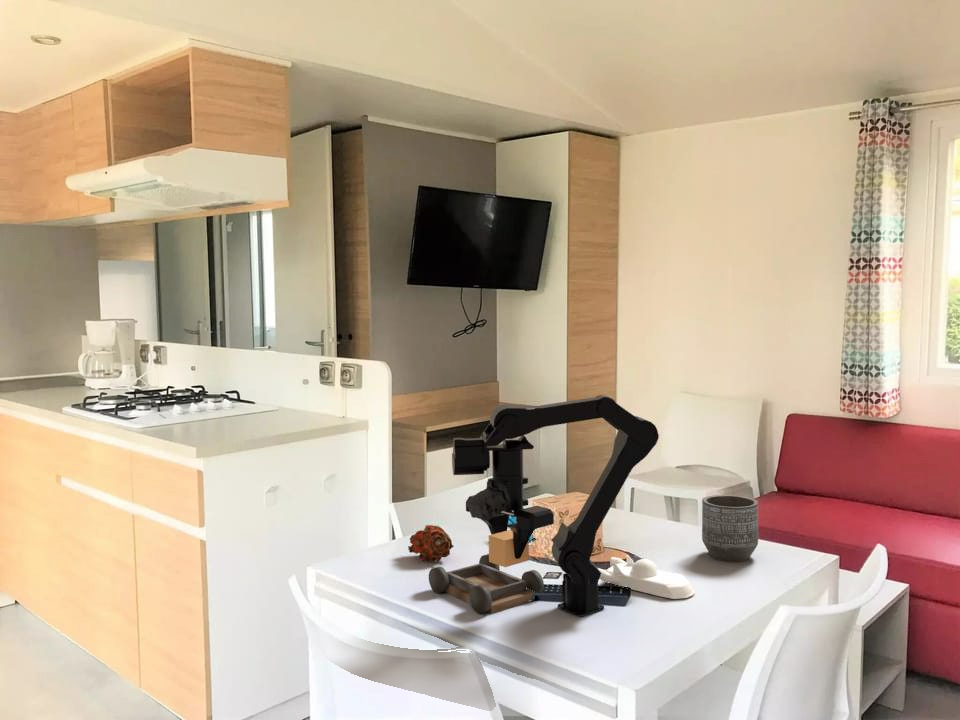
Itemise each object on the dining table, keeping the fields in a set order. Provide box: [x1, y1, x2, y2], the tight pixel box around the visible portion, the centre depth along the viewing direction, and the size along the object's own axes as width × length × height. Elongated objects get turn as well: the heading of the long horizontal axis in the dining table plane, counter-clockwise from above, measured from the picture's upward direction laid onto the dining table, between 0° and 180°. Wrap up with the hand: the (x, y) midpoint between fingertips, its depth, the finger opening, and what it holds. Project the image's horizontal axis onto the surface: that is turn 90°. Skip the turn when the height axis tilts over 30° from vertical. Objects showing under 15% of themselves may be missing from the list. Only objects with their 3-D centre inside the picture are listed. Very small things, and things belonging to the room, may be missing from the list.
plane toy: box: [597, 555, 696, 600], centre depth 164 cm, size 10×20×6 cm, turn 52°
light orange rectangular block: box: [488, 529, 530, 568], centre depth 151 cm, size 4×6×5 cm
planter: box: [701, 494, 759, 563], centre depth 183 cm, size 12×12×13 cm
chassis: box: [428, 553, 545, 614], centre depth 162 cm, size 19×15×5 cm
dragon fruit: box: [407, 524, 455, 562], centre depth 185 cm, size 8×8×12 cm
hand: (509, 555), depth 151 cm, fingers closed on light orange rectangular block, 4 cm apart
